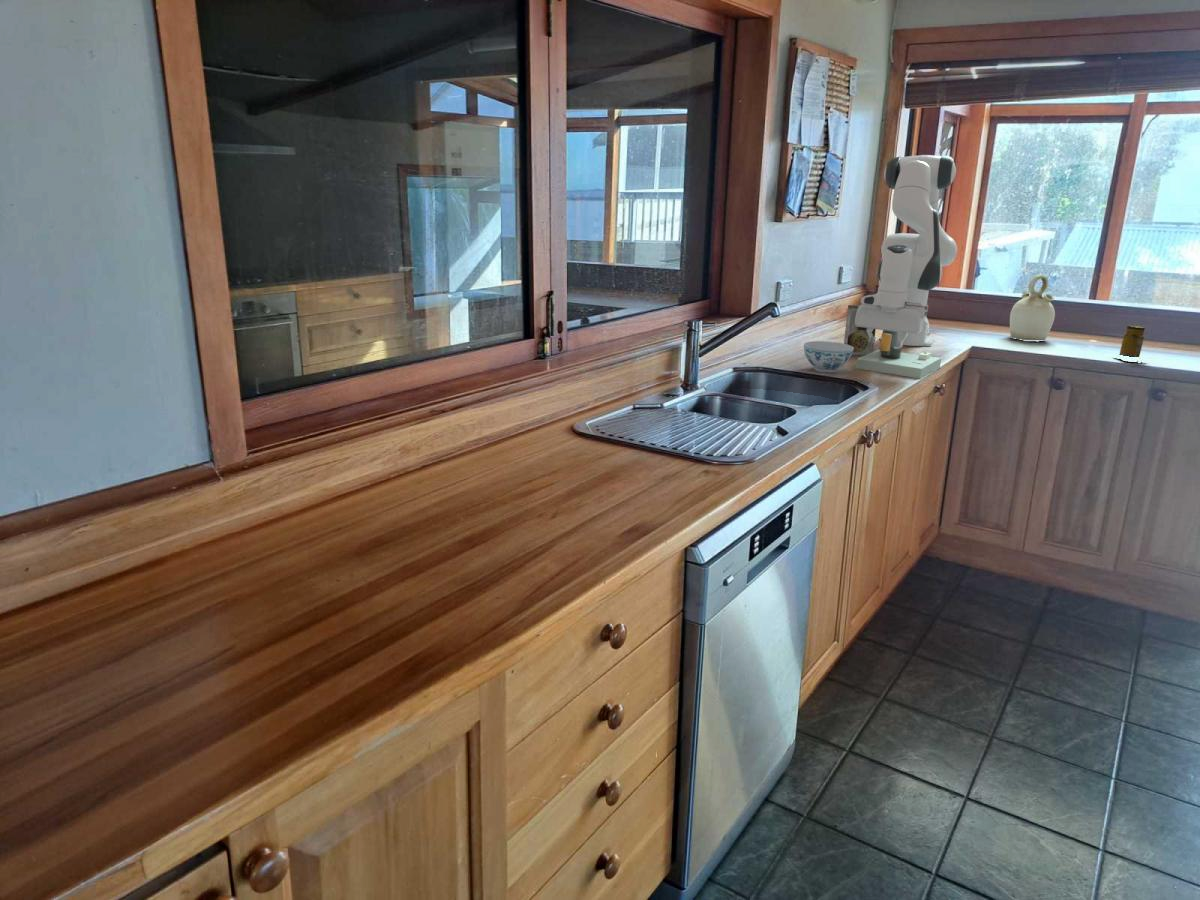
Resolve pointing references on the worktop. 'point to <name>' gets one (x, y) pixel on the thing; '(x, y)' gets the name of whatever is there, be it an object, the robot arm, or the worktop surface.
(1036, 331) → the jug
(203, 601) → the worktop surface
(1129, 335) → the condiment
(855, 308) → the coffee box
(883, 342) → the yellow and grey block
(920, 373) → the green base post mechanism
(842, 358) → the chinaware
